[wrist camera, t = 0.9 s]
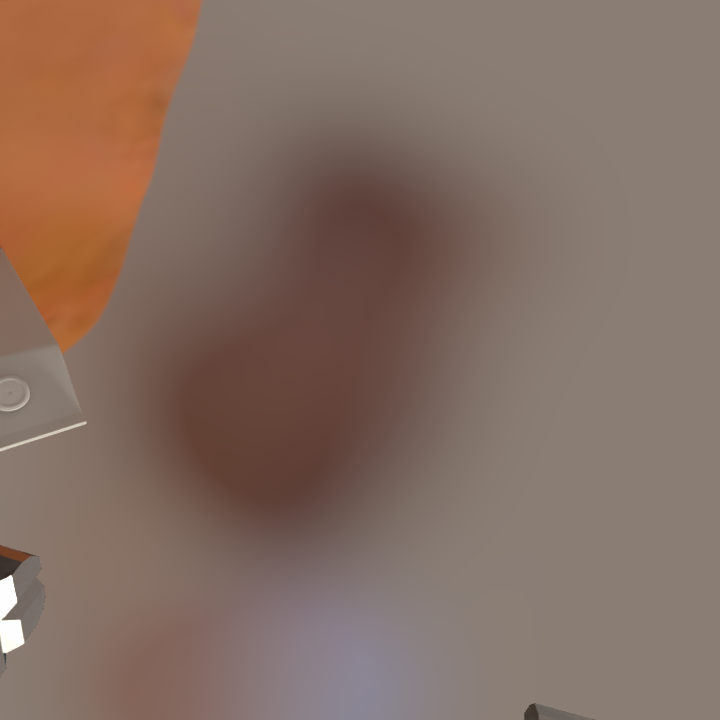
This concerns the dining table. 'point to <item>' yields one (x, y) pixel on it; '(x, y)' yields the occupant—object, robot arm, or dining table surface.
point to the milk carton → (30, 369)
